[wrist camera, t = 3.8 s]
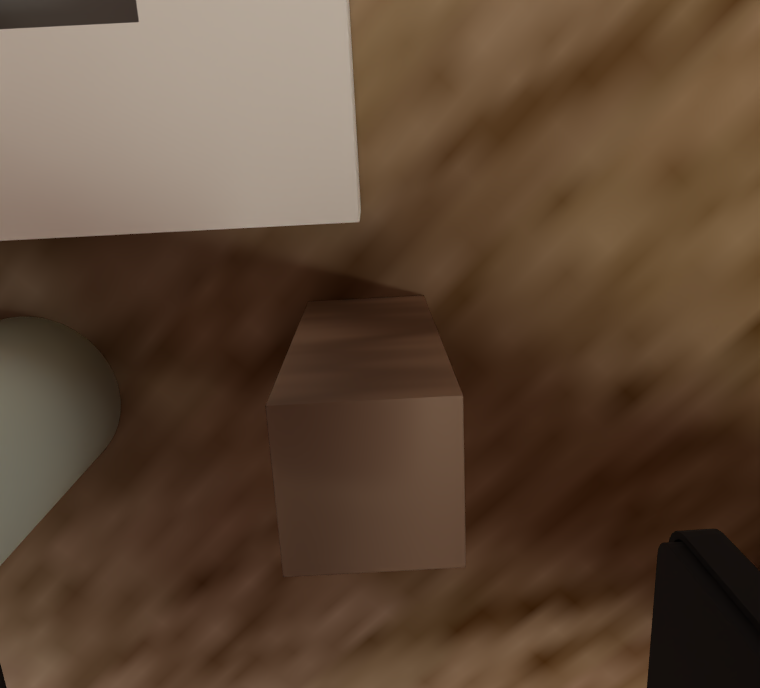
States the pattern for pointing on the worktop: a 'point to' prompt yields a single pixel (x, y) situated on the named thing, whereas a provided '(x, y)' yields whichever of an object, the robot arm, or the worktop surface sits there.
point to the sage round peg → (48, 419)
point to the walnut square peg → (367, 442)
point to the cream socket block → (175, 116)
